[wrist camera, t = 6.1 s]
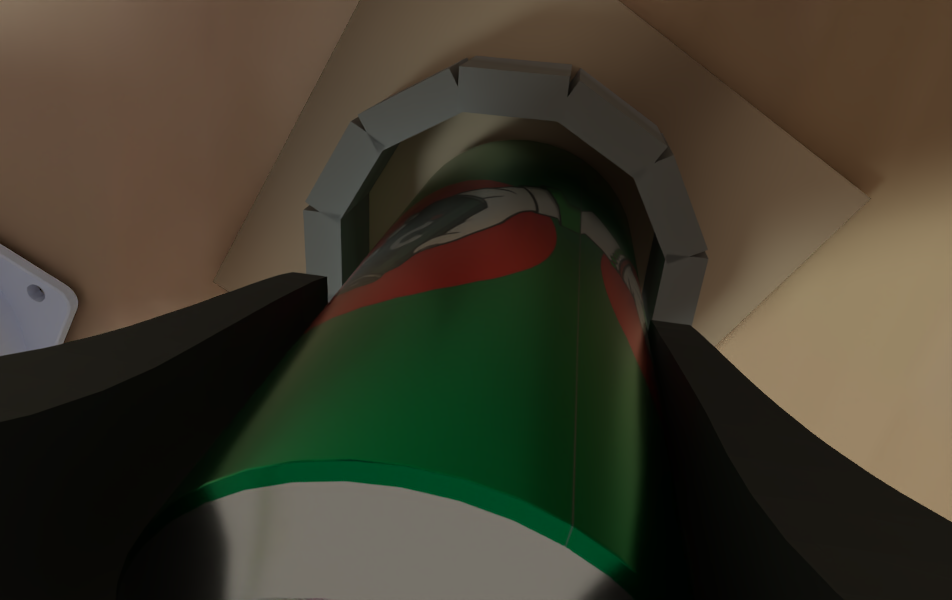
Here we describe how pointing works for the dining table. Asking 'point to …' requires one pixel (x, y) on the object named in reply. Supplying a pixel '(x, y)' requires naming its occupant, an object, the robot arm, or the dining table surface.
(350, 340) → the soda can
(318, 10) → the dining table surface
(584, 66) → the can socket
